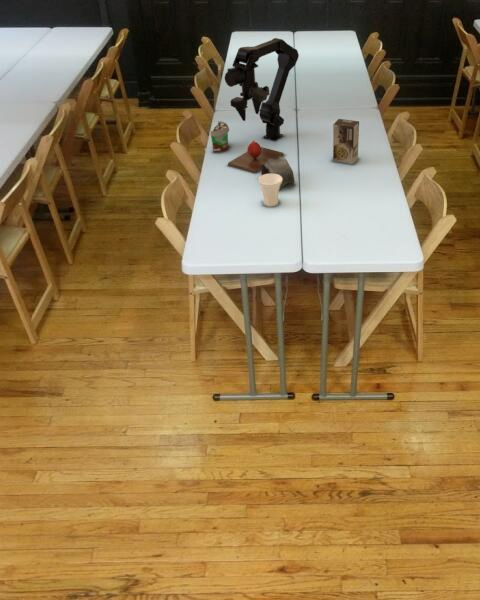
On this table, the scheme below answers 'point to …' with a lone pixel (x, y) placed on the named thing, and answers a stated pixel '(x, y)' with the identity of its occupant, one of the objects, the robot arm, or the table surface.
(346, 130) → the coffee box
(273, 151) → the cutting board
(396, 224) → the table surface
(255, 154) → the red fruit
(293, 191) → the table surface
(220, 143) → the food container
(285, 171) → the rock
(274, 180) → the cup
